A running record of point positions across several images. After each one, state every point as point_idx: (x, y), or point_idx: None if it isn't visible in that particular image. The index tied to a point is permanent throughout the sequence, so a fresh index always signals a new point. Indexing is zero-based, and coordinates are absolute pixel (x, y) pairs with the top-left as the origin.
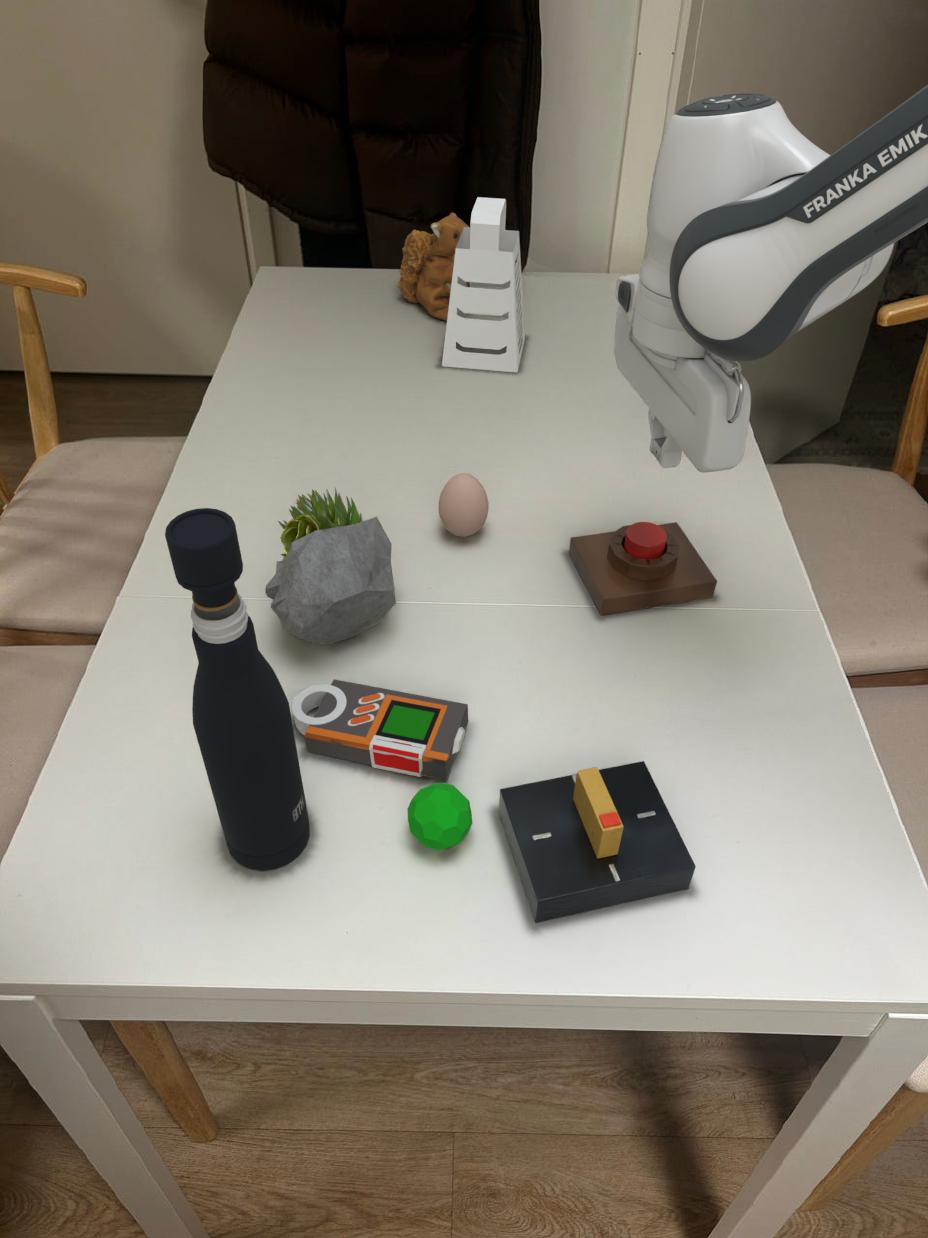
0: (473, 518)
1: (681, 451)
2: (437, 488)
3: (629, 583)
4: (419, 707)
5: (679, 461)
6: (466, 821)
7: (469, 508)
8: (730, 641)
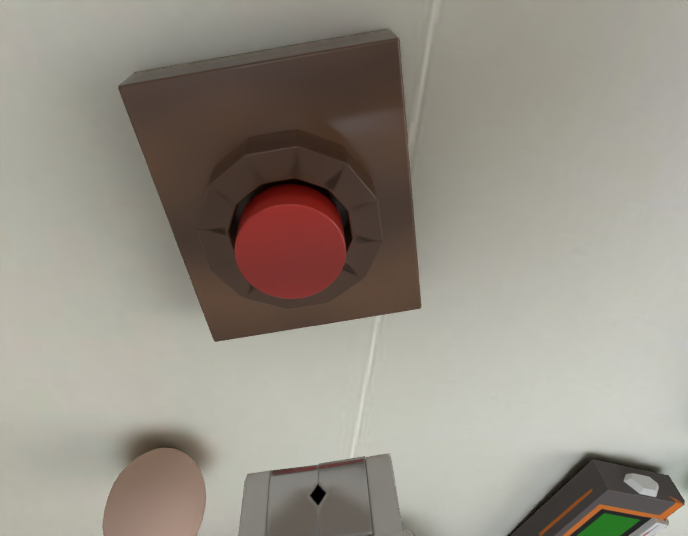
0: (198, 500)
1: (399, 519)
2: (37, 484)
3: (379, 255)
4: (587, 523)
5: (391, 467)
6: None
7: (194, 525)
8: (549, 30)
